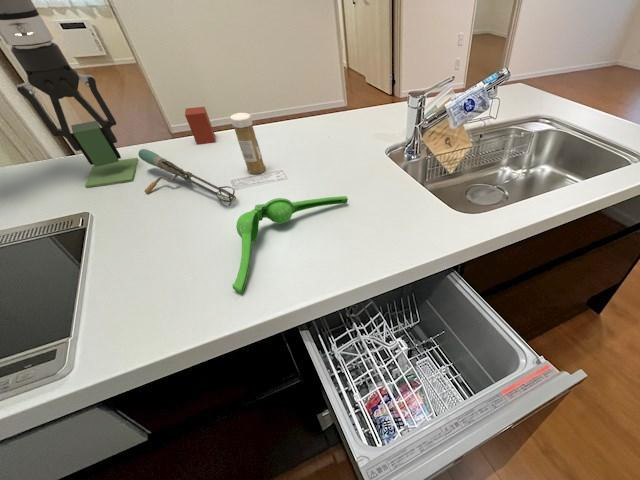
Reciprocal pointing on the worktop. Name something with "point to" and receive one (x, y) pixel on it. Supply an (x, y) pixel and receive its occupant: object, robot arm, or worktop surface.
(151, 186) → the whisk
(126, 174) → the sage mat
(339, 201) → the lime squeezer
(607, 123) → the worktop surface
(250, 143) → the sprinkles bottle
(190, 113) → the red block
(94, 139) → the green block
